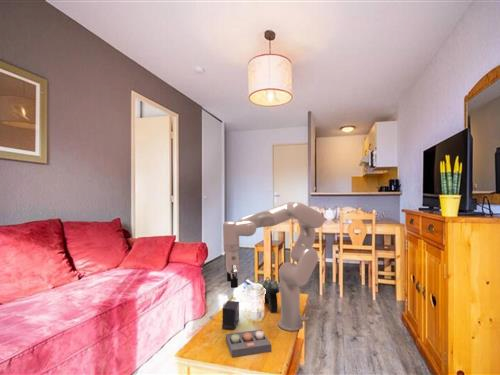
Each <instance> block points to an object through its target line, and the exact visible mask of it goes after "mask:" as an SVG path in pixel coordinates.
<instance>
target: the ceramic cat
mask: <svg viewBox="0 0 500 375" xmlns="http://www.w3.org/2000/svg"><path fill="white" fill-rule="evenodd" d="M269 276H270V277H269ZM269 276H268V277H266V279H265V280H264V281H263V285H262V288H263V287H264V288H265V289H266V294H265V305H267V304H269V312H270V313H271V314H277V313H278V304H279V303H278V297H277V296H278V295H277V294H279V293H280V288H279V287H280V286H279V284H278V282H277V280H276V279H273V275H272V274H271V273H270V275H269ZM270 278H271V279H270Z"/></svg>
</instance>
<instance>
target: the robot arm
mask: <svg viewBox="0 0 500 375" xmlns="http://www.w3.org/2000/svg"><path fill="white" fill-rule="evenodd" d="M292 219H293V220H297V222H298V226H299V230H300V231H299V234H298V236H297V239H296V241H295V243H294V245H293V247H292V249H291V252H290V258H291V260H292V261H294V262H296V263H294V262H290V261H286V262H284V263H282V264H281V265H280V266H279V269H278V270H279V271H278V277H279V281H280V320H278V322H277V325H278V327H279V328H280V329H281V330H284V331H287V332H295V331H296V332H297V331H300V330H302V329H303V328H304V322H309V321H310V319H309V316H304V315H301V311H300V310H301V307H300V304H301V303H300V302H301V301H300V296H301V295H300V294H301V293H300V288H302V287H304V286H305V285H307V283H308V282H309V280H310V277H311V276H312V274H313V272H314V270H315V268H316V266H317V264H318V261H319V253H318V252H317V250H316V248H314V247H313V246H314V244H315V241H316V238H317V237H316V229H320V228H321V227H322V226H323V225H324V222H325V218H324V215H323V213H321V212H320V211H318V210H315V209H314V208H312V207H310V206H308V205H306V204H305V203H303V202H298V201H297V202H296V201H289V202H285V203H282V204H280V205H278V206H274V207H273V208H270V209H267V210H262V211H260V212H257V213H254V214H250V215H247V216H244V217H241V218H239V219H238V220H237V221H233V220H230V221H229V220H228V221H224V222H223V223H222V234H223V235H222V236H223V237H222V238H223V240H222V241H223V242H222V244H223V252H225V269H226V272H227V273H226V282H230V288H231V289H235V288H236V289H237V288H238V287H239V280H238V274H239V273H240V271H241V270H240V257H239V252H240V237H251V236H253V235H255V234H256V233H257V229H258V228H267V227H274V226H277V225H279V224H282V223H285V222H287V221H289V220H292Z"/></svg>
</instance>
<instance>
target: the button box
mask: <svg viewBox="0 0 500 375" xmlns="http://www.w3.org/2000/svg"><path fill="white" fill-rule="evenodd" d="M257 331H263V330H262V329H253V330H248V331H240V332H232V333H225V342H226V344H227V349H228V351H229V354H230V357H231V358H237V357H244V356H250V355H251V356H253V355H258V354H263V353H270V352H272V344H271V342H270V341H269V339H268V337H267V336H266V335H265V333H264V339H263V340H256V332H257ZM247 332H248V333H251V334H252V341H249V342H244V333H247ZM233 334H238V335H239V336H240V342H239V343H235V344H232V343H231V336H232V335H233Z"/></svg>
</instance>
